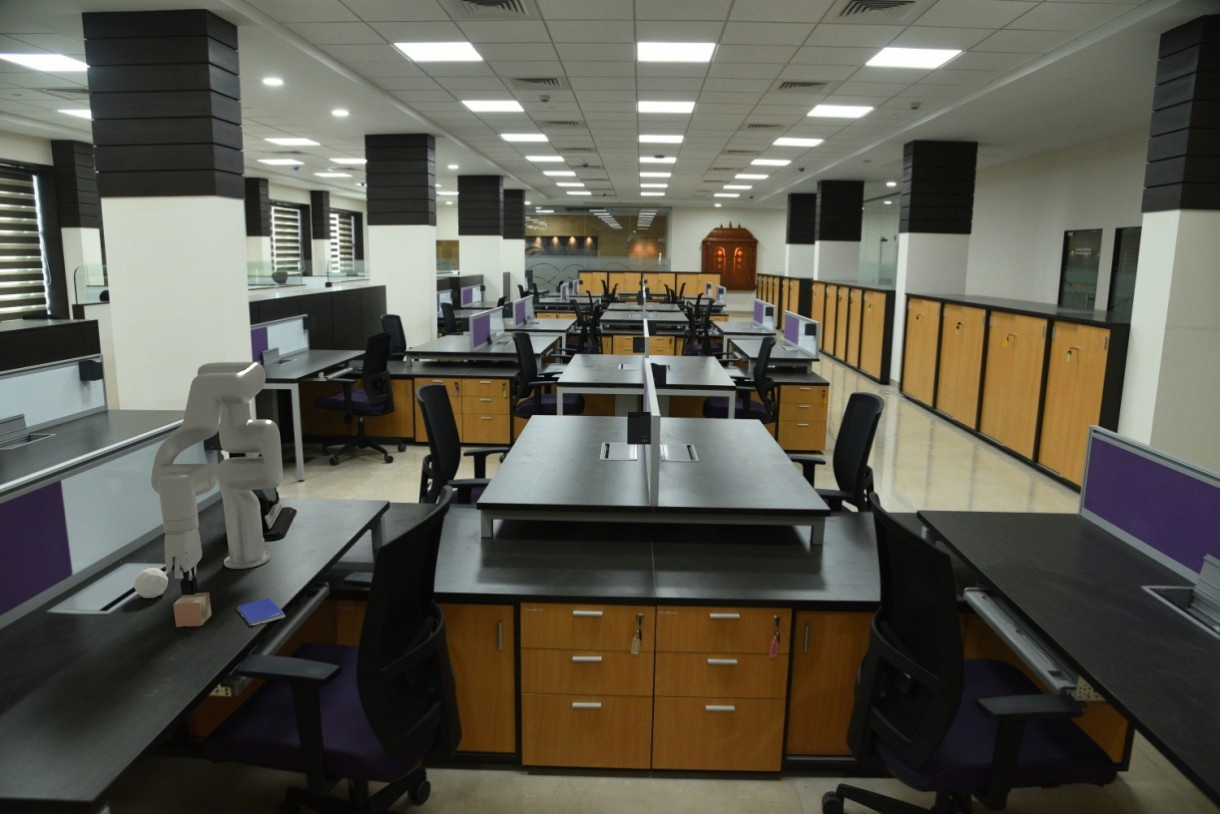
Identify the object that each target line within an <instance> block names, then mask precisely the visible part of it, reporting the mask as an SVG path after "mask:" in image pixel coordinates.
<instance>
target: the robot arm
mask: <svg viewBox="0 0 1220 814" xmlns="http://www.w3.org/2000/svg"><path fill="white" fill-rule="evenodd" d="M196 372H197V374H196V375H197V376H195V377H194V378H193V379H192V381H191V384H190V388H189V392H188V396H187V402H186V405H185V411H184V414H183V420H182V421H183V422H182V423H181V425H180V426H178V428H177V429H176V430H174V431H173V432H172V433H171V434H170V435H168V436H167V438H166V439H165V440H164V441H163V442H162V443H161V444H160V446H159V447H158V449H157V451H156V454H155V456H154V461H153V465H152V470H151V477H150V478H151V479H150V482H151V486H152V489H153V490H154V492H156V494H159V501H160V510H161V515H162V525H163V531H164V533H165V534H164V560H165V561H164V562H165V570H166V572H167V574H171V573H173V572H174V579H175V580H179V584H180V590H181V596H182V595H195V594H196V593H197V592H198V591H199V588H198V579H197V575H198V574H197V565H198V563H199V562H200V560H201V559H202V557H203V549H202V542H201V536H200V531H199V527H200V522H199V521H200V520H199V513H198V503H197V497H198V496H201V495H204V494H207V493H208V492H210V491H211V490H212V489H213V488H214V487H215V486H216V484H217V483H218V485H219V486H218V487H219V489H220V493H221V496H222V497H221V498H222V503H223V510H224V512H223V513H224V520H225V521H224V522H225V527H226V528H225V529H226V533H227V540H228V544H227V545H228V546H227V548H228V556H227V557H226V558H224V560H223V564H224V566H225V567H226V568H228V569H236V570H242V569H250V568H254V567H257V566H261V565H264V564H266V563H267V562H268V561H269V560H271V558H272V556H271V552H269V551H268V550H265V544H264V543H265V542H266V541H265V539H264V538H263V532H262V522H261V512H260V503H259V500H258V498H257V496H256V495H255V494H254V493H253V492H252V490H259V489H273V488H276V489H277V488H278V487H279V486H280V485H281V483H282V482H283V475H284V474H283V472H284V470H283V469H284V468H283V458H282V457H283V455H282V443H281V434H280V430H279V427H278V425H277V424H276V422H274V421H273V420H272V419H252V416H251V407H250V406H251V405H250V401H251V400H252V399H254V397H256V396H257V395H258V394H259V393H260V392H261V391H262V389H263V388H264V386H265V383H266V378H267V377H266V372H265V369H264V366H262V364H260V363H259V362H257V361H232V362H231V361H228V362H227V361H225V362H224V361H222V362H221V361H219V362H209V363H204V364H202V365H200V366H199V367H198V368H197V371H196ZM217 433H218V435H219V442H220V448H221V449H222V450H223V451H224V452H226V453H228V454H229V453H257V452H259V453H260V456H261V457H235V458H229V457H228V458H226V459H223V460H221V462H219V463H218V465H217V466H216V467H217V468H216V469H215V468H214V466H213V465H211V464H207V463H174V462H175V460H176V459H177V457H178V456H179V455H180V454H181V453H182V452H183V451H185V450H187V449H188V448H191V447H192V446H194V445H195V446H196V445H197V444H199V443H201V442H203V441H205V440H208V439H210V438H213V437H215V435H217ZM198 593H199V592H198Z"/></svg>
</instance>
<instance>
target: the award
mask: <svg viewBox="0 0 1220 814" xmlns="http://www.w3.org/2000/svg"><path fill="white" fill-rule="evenodd" d="M235 457H262V455H261V453H259V452H257V453H229V452H228V459H229V458H235ZM252 492H253V493H254V494H255V495H256V496H257V498H258V500H259V503H260V512H261V522H262V532H263V538H264V539H265V542H271V541H272V542H273V541H277V540H279V541H280V540H282V539H284V538H286V536H287V534H288V531H289V529H290V527H291V525H292V523H293V521H294V518H295V517H296V515H297V512H298V510H297V509H295V508H293V507H292V506H284V507H283V506H282V504H281V499H280V496H279V495H280V493H279V491H278V490H277V487H276V488H273V489H259V490H252ZM221 543H222V544H223V545H228V540H227V532H226V534H225V535H224V537H223V538H222V539H221Z"/></svg>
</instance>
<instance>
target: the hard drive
mask: <svg viewBox="0 0 1220 814" xmlns="http://www.w3.org/2000/svg"><path fill="white" fill-rule="evenodd" d="M236 610H237V611H238V613H239V612H240V613H241V614H240V613H239V614H240V615H241V617H242V618H243V617H244V618H245V619H246V620H247V621H248V623H249V624H250V625H256V624H259V625H261V624H260V623H263V624H265V623H269V622H270V623H271V622H273V621H276V620H279V619H280V620H281V619H284V618H286V613H284V611H283V610H282V609H281V608H280V607H279V606H278V605H277V603H275V602H274V601H273V600H272V598H271V597H267V598H262V599H259V600H255V601H252V602H248V603H245V604H241V605H238V606H237V607H236ZM244 618H243V619H244ZM245 619H244V620H245ZM246 620H245V621H246ZM247 621H246V622H247ZM248 623H247V624H248ZM249 624H248V625H249ZM250 625H249V626H250ZM256 626H257V625H256Z"/></svg>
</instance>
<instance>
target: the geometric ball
mask: <svg viewBox="0 0 1220 814" xmlns="http://www.w3.org/2000/svg"><path fill="white" fill-rule="evenodd" d="M168 582H169V577H168V576H167V575H166V572H164V571H163V570H161V569H160V568H157V567H156V568H155V567H153V568H151V567H149V568H146V569H143V570H141V571H140V572H139V573H138V574H137V576H136V578H135V581H134V584H133V588H134V589H135V591H136V593H137V594H138V595H139V596H141V598H143V599H144V598H145V599H155V598H156V597H159V596H161V595H162V594H163V593H164V592H165V591H166V589H167V587H168Z"/></svg>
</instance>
